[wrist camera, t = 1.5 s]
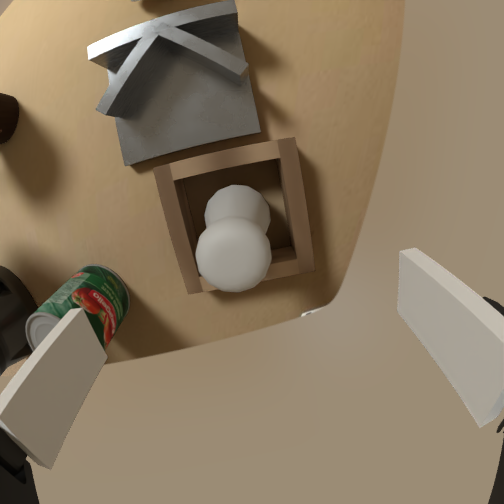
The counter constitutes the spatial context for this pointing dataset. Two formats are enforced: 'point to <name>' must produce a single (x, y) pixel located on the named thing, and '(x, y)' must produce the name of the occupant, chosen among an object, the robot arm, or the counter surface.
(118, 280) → the canned tomato
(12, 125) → the coffee mug
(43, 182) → the counter surface
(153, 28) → the v-block
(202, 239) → the salt shaker
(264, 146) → the bore block
